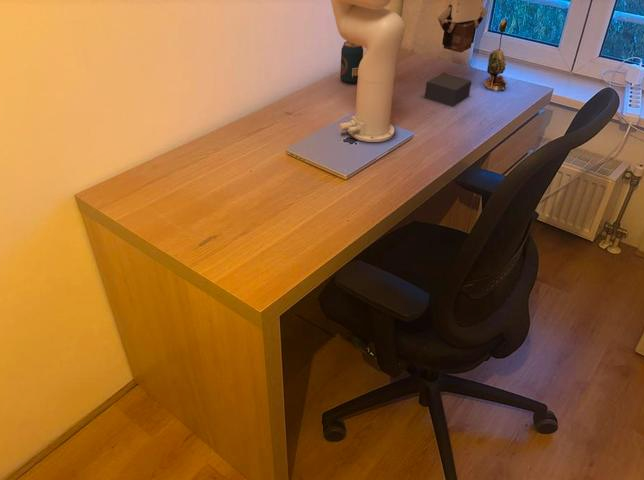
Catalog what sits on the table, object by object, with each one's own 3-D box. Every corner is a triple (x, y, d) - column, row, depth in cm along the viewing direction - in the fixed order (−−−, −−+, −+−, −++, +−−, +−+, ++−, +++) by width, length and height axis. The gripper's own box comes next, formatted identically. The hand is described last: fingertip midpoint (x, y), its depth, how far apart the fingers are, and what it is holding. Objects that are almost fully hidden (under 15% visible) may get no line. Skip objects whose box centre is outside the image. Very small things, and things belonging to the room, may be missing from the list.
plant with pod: (473, 88, 172) (487, 22, 159) (489, 78, 179) (504, 14, 166) (497, 95, 169) (513, 28, 155) (512, 84, 175) (529, 19, 162)
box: (471, 48, 157) (476, 22, 152) (460, 53, 154) (465, 26, 149) (453, 43, 160) (457, 17, 156) (442, 48, 157) (446, 22, 152)
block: (452, 106, 162) (455, 90, 158) (424, 97, 167) (426, 81, 163) (468, 96, 168) (471, 80, 164) (440, 87, 172) (443, 72, 169)
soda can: (337, 78, 177) (338, 41, 169) (356, 76, 179) (359, 39, 171) (344, 86, 172) (346, 48, 164) (364, 84, 174) (367, 46, 166)
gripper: (485, -30, 150) (472, 36, 162) (435, -24, 144) (425, 44, 156) (504, -24, 145) (489, 43, 157) (452, -18, 139) (441, 52, 151)
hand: (457, 43), depth 156 cm, fingers closed on box, 7 cm apart
